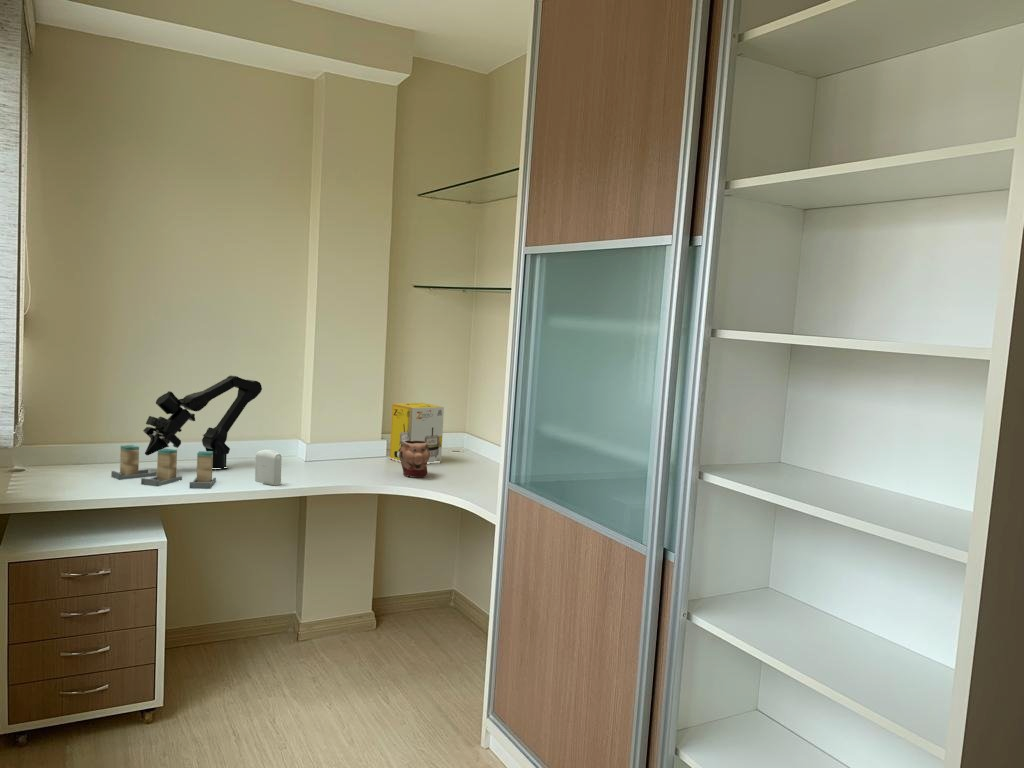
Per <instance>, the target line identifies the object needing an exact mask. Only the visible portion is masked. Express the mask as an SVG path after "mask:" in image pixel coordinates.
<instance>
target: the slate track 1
mask: <svg viewBox="0 0 1024 768" xmlns="http://www.w3.org/2000/svg"><path fill="white" fill-rule="evenodd" d="M149 477H151V478H152V477H157V472H156V471H155V472H154V471H153V472H149V469H139V470H138V474H134V475H124V476H122V474H121V473H120V471H118V472H117V471H115V470H111V478H114V479H117V480H119V481H124V480H131V479H141V478H149Z"/></svg>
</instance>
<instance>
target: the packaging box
mask: <svg viewBox="0 0 1024 768" xmlns="http://www.w3.org/2000/svg"><path fill="white" fill-rule="evenodd" d="M391 405H392V407H391V421H390V422H391V423H390V443H389V444H390V445H389V458H390V457H391V458H394V459H397V460H400V459H399V452H400V449H401V448H402V445H403V442H404V441H424V442H426V443H427V446H428V449H429V452H430V458H429V460H428V462H434V461H441V462H442V452H443V451H442V448H443V433H444V432H443V428H444V413H445V411H444V410H445V407H443V406H439V405H435V404H429V403H425V402H404V403H403V402H402V403H401V402H400V403H399V402H398V403H391Z"/></svg>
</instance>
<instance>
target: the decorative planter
mask: <svg viewBox="0 0 1024 768" xmlns="http://www.w3.org/2000/svg"><path fill="white" fill-rule="evenodd" d="M429 458H430V452H429V449H428V446H427V443H426V442H424V441H404V442H403V445H402V448H401V449H400V452H399V459H400V461H401V463H400V464H401V465H400V466H401V469H402V471H403V473H402V474H403V476H405V477H408V476H410V477H409V478H424V477H423V476H426V475H428V464H427V462H428V460H429ZM426 477H427V476H426Z"/></svg>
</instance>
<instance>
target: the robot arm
mask: <svg viewBox="0 0 1024 768" xmlns="http://www.w3.org/2000/svg"><path fill="white" fill-rule="evenodd" d="M233 388H237V389H238V390H237V396H236V398H235V399H234V401H233V402H232V403H231V405H230V406H229V408H228V409H227V411H226V412H225V413H224V415H223V416H222V418H221V419H220V420H219V422H218V423H217V424H216V426H215V427H208V428H207V430H206V432H205V433H204V434H203V435H202V439H201V443H202V446H203V447H204V448H205V451H213V463H212V468H224V467H227V457H228V456H227V455H229V453H230V450H231V448H230V447H229V446H228V445H227V444H226V442H227V439H228V432H229V431H230V429H231V428H232V427H233V426H234V424H235V422H236V421H237V419H238V418H239V416H240V415H241V414H242V412H243V410H244V409H245V408H246V407H247V405H248V404H249V403H250V402H251V401H253V400H254V399H255V398H257V397H258V396H259V395H260V394H261V393H262V390H263V388H262V383H261V382H260V381H258V380H254V379H253V380H252V379H246V378H245V379H244V378H242V377H239V376H237V375H229V376H227V377H225V378H224V379H221V381H219V382H217V383H215V384H213V385H211V386H210V387H207V388H206V389H203V390H202V391H196V392H194V393H190V394H186V395H185V396H184V397H183V398H178V397H177V396H176V395H175V394H174V392H173V391H167V392H166V393H164V394H162V395H160V396H159V397H157V399H156V401H155V404H156V405H157V406H158V407H159V408H160V409H161V410H162V411H163V412H164V413H165V414H166V415H170V416H169V417H168V418H166V417H163V416H159V417H155V416H151V415H149V416H148V418H147V420H146V422H145V424H146V425H148V426H146V427H145V428H144V429H143V430H142V431H143V433H144V434H146V435H147V437H149V438H150V441H149V444H148V445H147V448H146V450H145V452H144V454H145V455H146V456H150V455H152V454H154V453H156V452H157V453H158V450H161V449H167V448H169V447H170V446H169V444H170V443H171V444H172V446H173V447H174V448H176V449H178V448H179V447H180V446H181V445H182V440H181V439H180V438H179V437H178V436H177V435H176V434H177V433H181V432H182V428H183V426H184V425H185V424H186V423H187V422H188V421H191V422H196V416H195V415H196V414H195V413H193V412H200V411H202V410H203V409H204V408H205V407H207V406H208V404H209V403H210V402H211V401H212V400H213V399H216V398H217V397H219V396H221V395H223V394H224V393H226V392H228V391H230V390H232V389H233ZM190 411H191V412H192V413H191V412H190Z"/></svg>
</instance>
